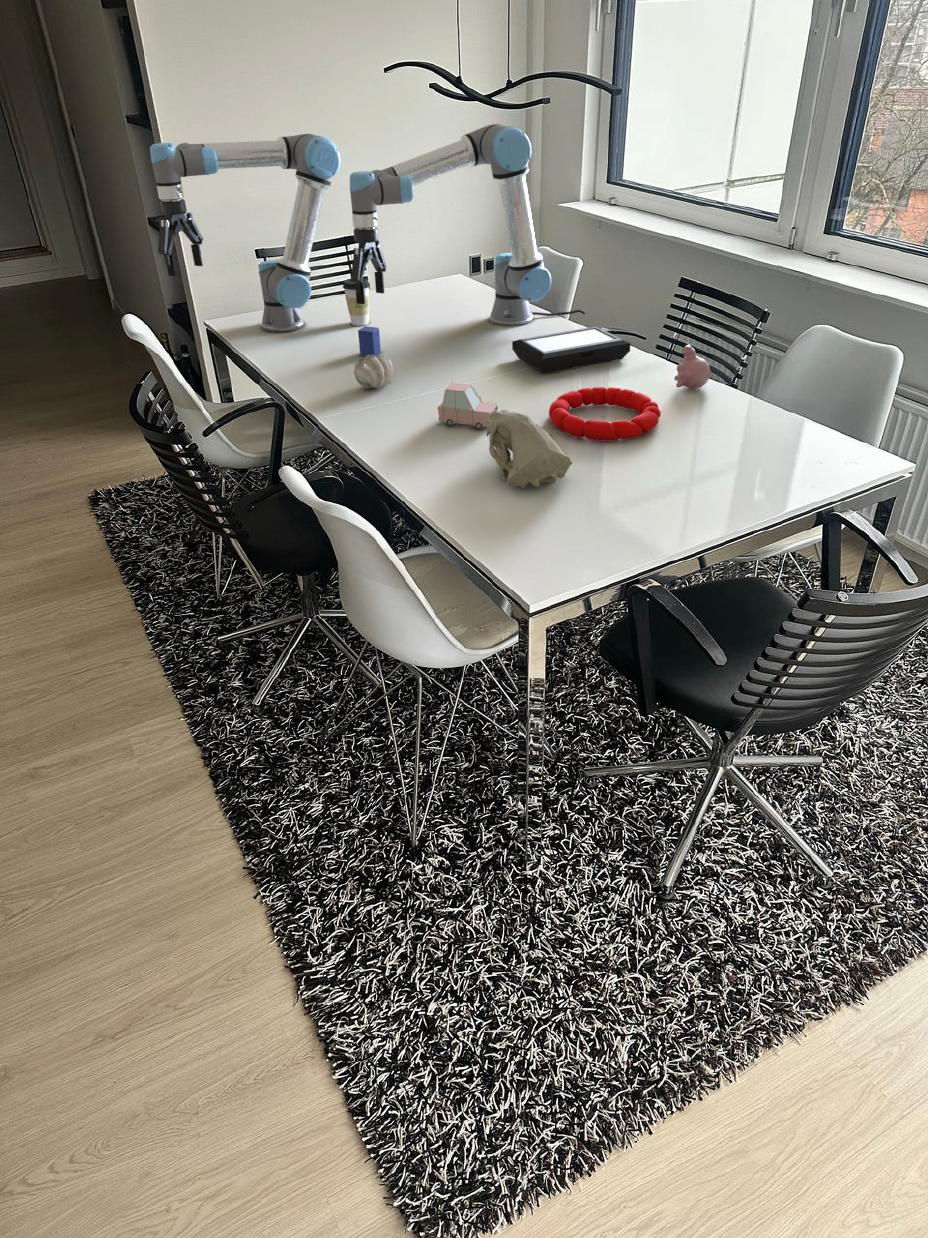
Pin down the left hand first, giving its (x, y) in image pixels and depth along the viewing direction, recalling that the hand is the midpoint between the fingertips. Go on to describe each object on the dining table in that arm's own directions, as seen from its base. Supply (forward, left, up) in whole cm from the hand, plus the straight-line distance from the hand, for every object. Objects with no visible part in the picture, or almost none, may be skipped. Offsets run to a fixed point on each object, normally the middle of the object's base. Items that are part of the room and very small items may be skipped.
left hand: (186, 270), depth 289 cm
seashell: (+50, +55, -27) cm, 79 cm away
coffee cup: (-19, +56, -27) cm, 65 cm away
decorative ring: (+93, +114, -27) cm, 149 cm away
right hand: (+18, +58, -8) cm, 61 cm away
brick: (+17, +56, -27) cm, 65 cm away
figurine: (+75, +146, -27) cm, 166 cm away
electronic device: (+40, +119, -27) cm, 128 cm away
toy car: (+85, +77, -27) cm, 118 cm away
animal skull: (+117, +84, -27) cm, 147 cm away
